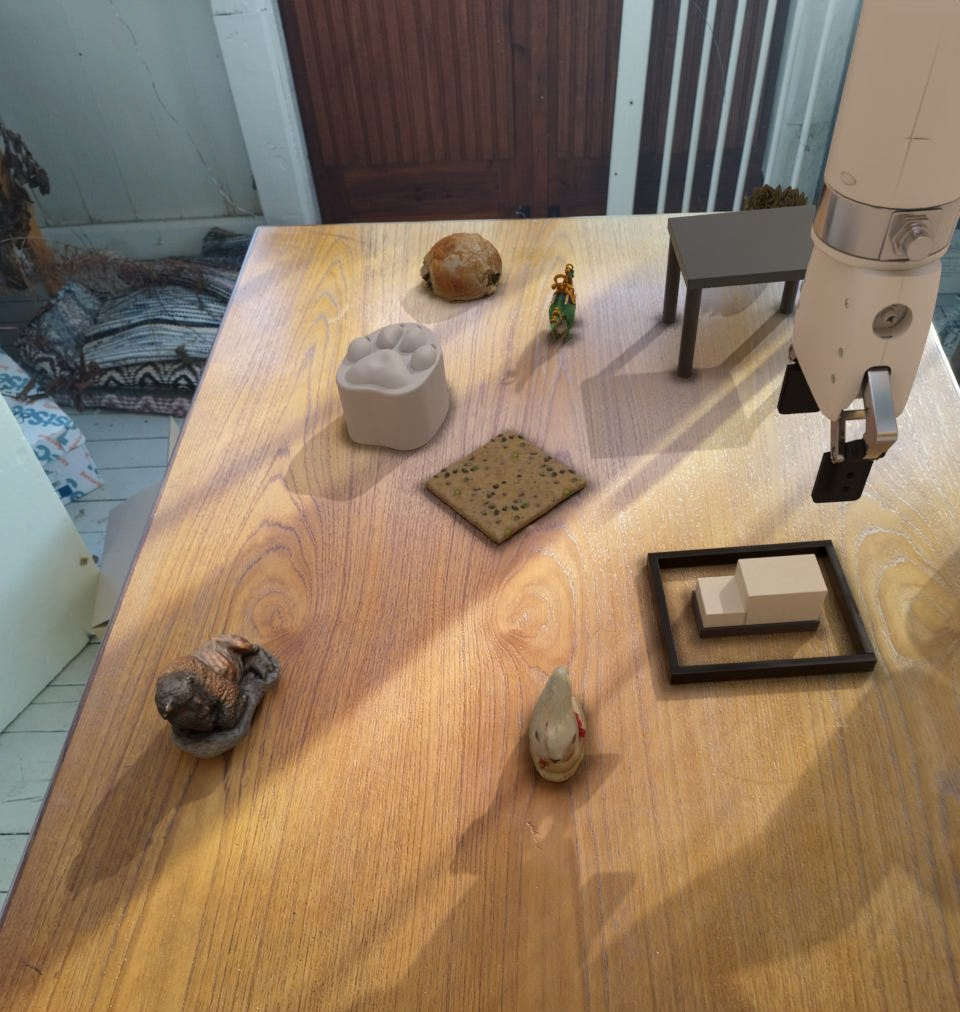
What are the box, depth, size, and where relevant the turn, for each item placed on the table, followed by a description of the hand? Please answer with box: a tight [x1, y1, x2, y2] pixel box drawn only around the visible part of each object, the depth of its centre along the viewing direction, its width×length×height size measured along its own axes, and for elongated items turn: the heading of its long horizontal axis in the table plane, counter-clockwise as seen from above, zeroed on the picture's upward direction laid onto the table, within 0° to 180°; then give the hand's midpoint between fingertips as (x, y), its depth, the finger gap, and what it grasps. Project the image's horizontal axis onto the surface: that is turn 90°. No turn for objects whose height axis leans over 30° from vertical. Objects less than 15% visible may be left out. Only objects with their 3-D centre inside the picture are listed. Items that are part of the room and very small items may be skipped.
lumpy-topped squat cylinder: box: [334, 321, 450, 451], centre depth 95 cm, size 10×13×9 cm
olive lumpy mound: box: [743, 183, 809, 211], centre depth 108 cm, size 8×7×8 cm
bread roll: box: [419, 231, 503, 302], centre depth 112 cm, size 10×10×8 cm
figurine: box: [548, 263, 578, 341], centre depth 101 cm, size 3×12×8 cm, turn 166°
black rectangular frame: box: [646, 539, 878, 685], centre depth 76 cm, size 17×14×2 cm
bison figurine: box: [154, 633, 282, 760], centre depth 70 cm, size 12×7×10 cm, turn 168°
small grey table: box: [661, 204, 817, 379], centre depth 96 cm, size 16×13×12 cm
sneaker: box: [690, 554, 829, 639], centre depth 74 cm, size 10×4×5 cm, turn 91°
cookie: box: [424, 429, 587, 545], centre depth 88 cm, size 12×12×1 cm
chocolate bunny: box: [528, 664, 588, 783], centre depth 66 cm, size 6×8×10 cm
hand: (815, 453), depth 62 cm, fingers open, 9 cm apart
